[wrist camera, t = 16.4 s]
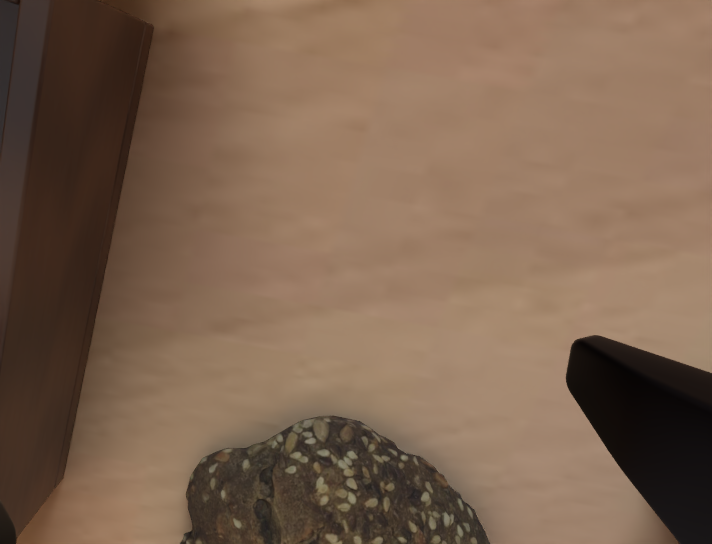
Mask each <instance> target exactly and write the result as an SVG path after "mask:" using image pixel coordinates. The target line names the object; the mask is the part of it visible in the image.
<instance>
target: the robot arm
mask: <svg viewBox="0 0 712 544" xmlns="http://www.w3.org/2000/svg"><path fill="white" fill-rule="evenodd" d="M566 382H567V386H568V388H569V390H570V392H571V394H572V395H573V397H574V398H575V400H576V402H577V403H578V405H579V406H580V408H581V409H582V411H583V412H584V414H585V415H586V417H587V418H588V420H589V422H590V423H591V425H592V426H593V428H594V429H595V431H596V432H597V434H598V435H599V437H600V438H601V440H602V442H603V443H604V445H605V446H606V448H607V449H608V451H609V452H610V454H611V455H612V457H613V458H614V460H615V461H616V462H617V464H618V465H619V467H620V468H621V469H622V471H623V472H624V473H625V475H626V476H627V477H628V479H629V480H630V481H631V482H632V484H633V485H634V486H635V487H636V489H637V490H638V491H639V492H640V494H641V495H642V496H643V498H644V499H645V500H646V501H647V503H648V504H649V505H650V506H651V508H652V509H653V510H654V511H655V513H656V514H657V515H658V516H659V518H660V519H661V520H662V522H663V523H664V524H665V525H666V527H667V528H668V529H669V530H670V532H671V533H672V534H673V535H674V537H675V538H676V539H677V540H678V542H679V543H680V544H712V373H710V372H707V371H704V370H701V369H698V368H695V367H692V366H689V365H686V364H683V363H680V362H677V361H674V360H671V359H668V358H665V357H662V356H659V355H656V354H653V353H650V352H647V351H644V350H641V349H638V348H635V347H632V346H629V345H626V344H623V343H620V342H617V341H614V340H611V339H608V338H605V337H602V336H598V335H593V336H589V337H584V338H580V339H577V340H575V341H574V343H573V344H572V346H571V351H570V356H569V362H568V367H567V373H566ZM0 544H16V529H15V526H14V523H13V521H12V519H11V518H10V516H9V514H8V512H7V511H6V509H5V507H4V505H3V503H2V502H1V500H0Z"/></svg>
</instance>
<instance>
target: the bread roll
mask: <svg viewBox="0 0 712 544" xmlns="http://www.w3.org/2000/svg"><path fill="white" fill-rule="evenodd" d="M186 498H187V500H188V510H189V513H190V516H191V520H192V525H193V530H192V531H191V532H188V533H185V534H184V537H183V540H182V542H181V543H180V544H490V543H489V541H488V538H487V536H486V534H485V531H484V529H483V527H482V525H481V523H480V522H479V520H478V518H477V515H476V513H475V511H474V509H473V508H471V507H470V506H469V505H468V504H467V503H465V502H464V501H463V500H462V498H461V496H460V494H459V493H458V492H456V491H454V490H453V489H452V488H451V487H450V486H449V485H448V483H447V481H446V480H445V478H444V476H443V475H441V474H440V473H438V471H437V470H436V469H435V467H434V466H432V465H431V464H429V463H428V462H427V461H425V460H424V459H422V458H421V457H420V456H415V455H410V454H406V453H404V452H403V451H401V450H399V449H398V448H397V447H396V445H395V443H394V442H392V441H390V440H389V439H387V438H385V437H383V436H380V435H378V434H377V433H376V432H375V431H373V430H372V429H371V428H369V427H368V426H366V425H365V424H363V423H361V422H360V421H356V420H351V419H346V418H341V417H336V416H324V417H316V418H311V419H307V420H302V421H300V422H298V423H296V424H294V425H292V426H290V427H289V428H287V429H285V430H284V431H282V432H280V433H279V434H277V435H275V436H274V437H272V438H270V439H268V440H267V441H265V442H262V443H258V444H255V445H252V446H250V447H248V448H238V449H231V448H226V449H224V450H221V451H218V452H215V453H213V454H211V455H209V456H207V457H204V458H203V459H202V460H201V461H200V463H199V464H198V466H197V467H196V469H195V470H194V472H193V474H192V475H191V477H190V481H189V485H188V489H187V492H186Z"/></svg>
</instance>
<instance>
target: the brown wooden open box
mask: <svg viewBox="0 0 712 544" xmlns="http://www.w3.org/2000/svg"><path fill="white" fill-rule="evenodd" d="M152 33H153V25H151V24H150V23H147V22H145V21H143V20H141V19H138V18H136V17H134V16H132V15H129V14H127V13H125V12H123V11H120V10H118V9H116V8H114V7H112V6H109V5H107V4H105V3H103V2H100V1H98V0H0V500H1V502H2V503H3V505H4V507H5V509H6V511H7V512H8V514H9V516H10V518H11V519H12V521H13V523H14V526H15V529H16V538H17V537H18V536H19V534H20V533H21V532H22V530H23V529H24V528H25V527H26V525H27V524H28V523H29V521H30V520H31V519H32V518H33V516H34V515H35V514H36V512H37V511H38V510H39V508H40V507H41V506H42V505H43V503H44V502H45V501H46V499H47V498H48V497H49V495H50V494H51V493H52V492H53V490H54V489H55V488H56V486H57V485H58V484H59V482H60V481H61V480H62V479H63V475H64V470H65V465H66V460H67V455H68V450H69V445H70V440H71V435H72V430H73V425H74V420H75V415H76V410H77V405H78V400H79V395H80V391H81V386H82V381H83V376H84V371H85V366H86V361H87V356H88V351H89V346H90V341H91V336H92V331H93V326H94V321H95V316H96V311H97V306H98V301H99V296H100V291H101V286H102V281H103V276H104V271H105V266H106V261H107V256H108V251H109V246H110V241H111V236H112V231H113V227H114V222H115V217H116V212H117V207H118V202H119V197H120V192H121V187H122V182H123V177H124V172H125V167H126V162H127V157H128V152H129V147H130V142H131V137H132V132H133V127H134V122H135V117H136V112H137V107H138V102H139V97H140V92H141V87H142V82H143V77H144V72H145V68H146V63H147V58H148V53H149V48H150V43H151V38H152Z"/></svg>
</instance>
